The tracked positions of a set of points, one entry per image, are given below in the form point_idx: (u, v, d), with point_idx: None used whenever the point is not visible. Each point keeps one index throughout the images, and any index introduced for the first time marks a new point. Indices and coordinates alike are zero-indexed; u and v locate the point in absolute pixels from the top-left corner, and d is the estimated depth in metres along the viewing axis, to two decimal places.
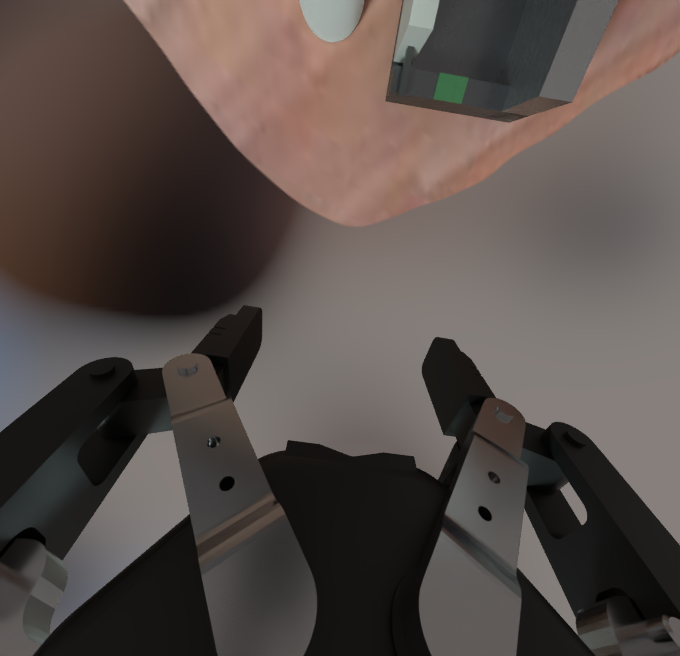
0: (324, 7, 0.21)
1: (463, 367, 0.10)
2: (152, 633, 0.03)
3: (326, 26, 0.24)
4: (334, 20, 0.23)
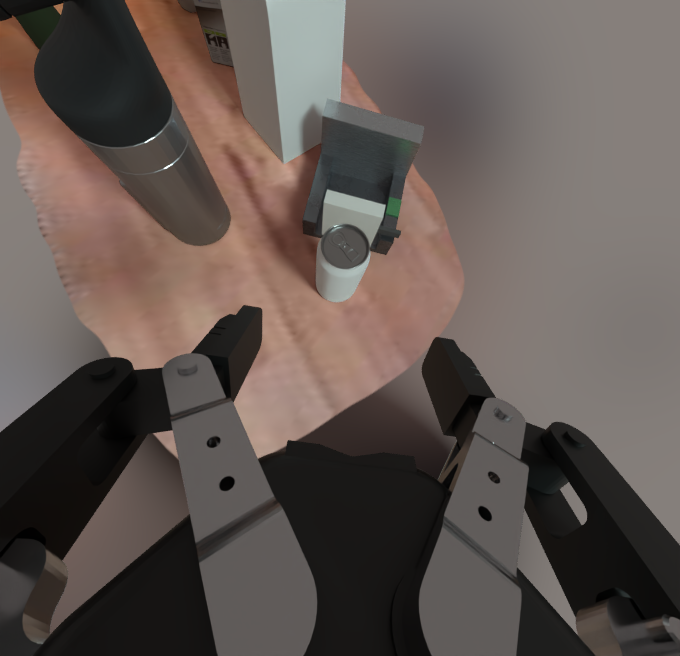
0: None
1: (463, 367, 0.10)
2: (152, 633, 0.03)
3: None
4: None
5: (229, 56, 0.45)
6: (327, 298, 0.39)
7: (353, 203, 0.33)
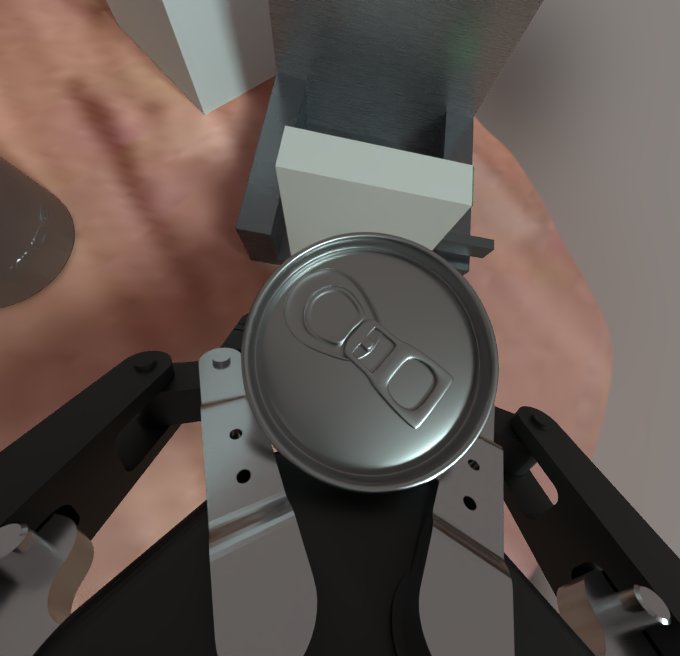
0: None
1: None
2: (152, 633, 0.03)
3: None
4: None
5: None
6: None
7: (373, 165, 0.10)
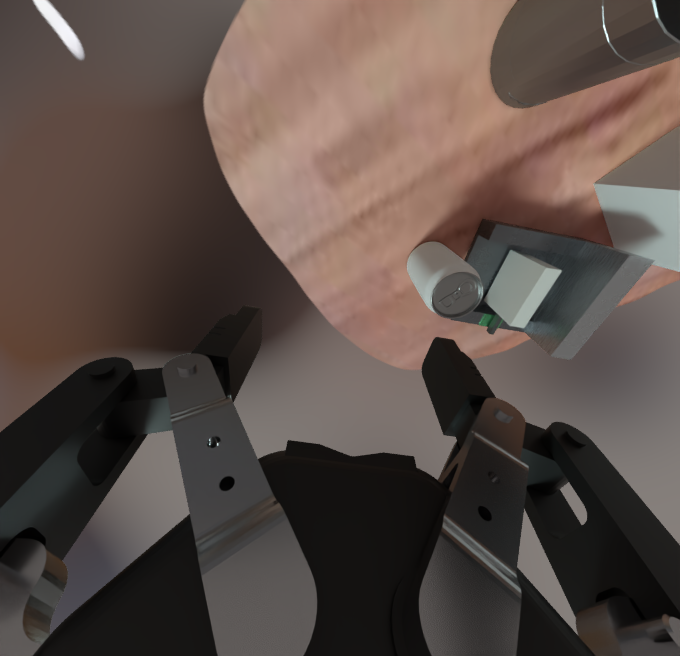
0: None
1: (463, 367, 0.10)
2: (152, 633, 0.03)
3: None
4: None
5: None
6: (411, 256, 0.37)
7: (535, 298, 0.31)
